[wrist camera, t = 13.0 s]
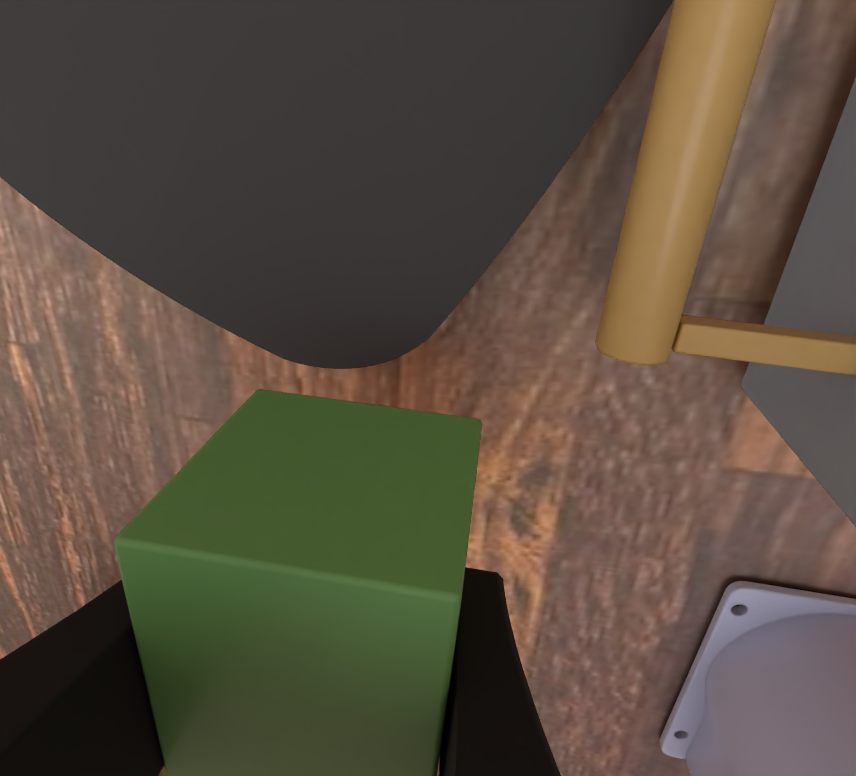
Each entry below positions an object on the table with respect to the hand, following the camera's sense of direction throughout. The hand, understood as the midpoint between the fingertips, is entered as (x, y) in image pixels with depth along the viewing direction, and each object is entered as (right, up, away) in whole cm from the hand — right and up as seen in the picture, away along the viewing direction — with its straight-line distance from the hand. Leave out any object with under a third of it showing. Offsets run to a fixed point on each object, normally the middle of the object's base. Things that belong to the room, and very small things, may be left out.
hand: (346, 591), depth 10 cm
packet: (0, +1, +1) cm, 1 cm away
